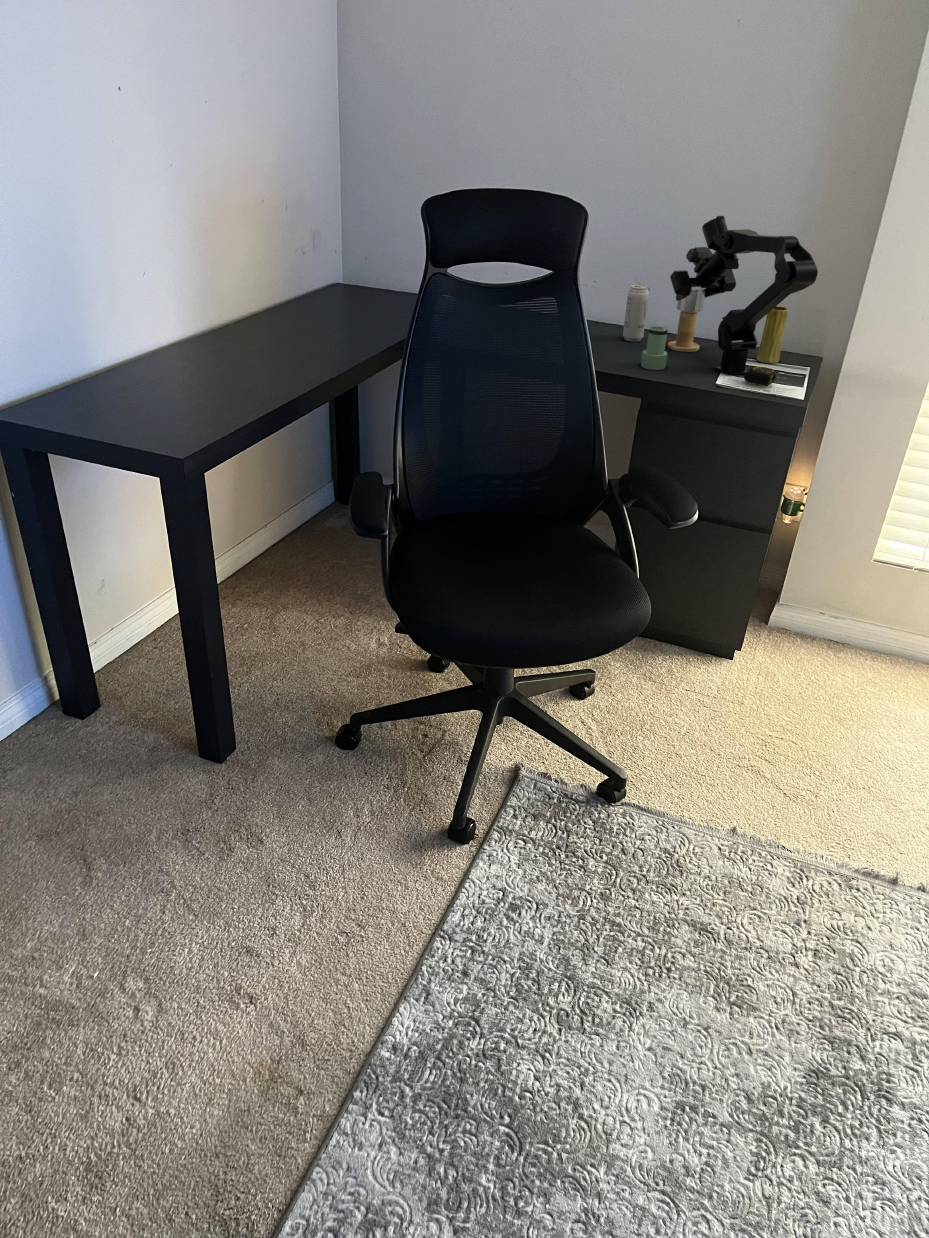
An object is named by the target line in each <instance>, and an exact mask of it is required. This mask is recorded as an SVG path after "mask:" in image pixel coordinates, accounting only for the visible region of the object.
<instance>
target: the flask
mask: <svg viewBox="0 0 929 1238" xmlns="http://www.w3.org/2000/svg"><path fill="white" fill-rule="evenodd" d="M667 335H668V328H666V327H664V326H650V327H649V328H648V333H647V342H646V348H645V349H644V350H642V353H641V360H640V367H641V368H643V369H646V370H650V371H661V370H664V369H666V366H667V359H668V351H665V350H666V342H667Z"/></svg>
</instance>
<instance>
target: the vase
mask: <svg viewBox="0 0 929 1238" xmlns="http://www.w3.org/2000/svg"><path fill="white" fill-rule="evenodd" d="M788 314H789V308H788V307H786V306H782V305H777V306H776V307H775V308H773V309H772V310H771V311H770V312H769V313H768V314H767V315H766V316H765V317H766V319H765V323H764V326H763V329H762V330H763V331H762V335H761V339H760V343H759V347H758V351H757V352H758V353H757V357H756V361H757V362H759V363H763V364H777V363H779V362H780V356H781V352H782V351H781V350H782V345H783V343H782V342H783V336H784V333H785V329H786V323H787V319H788Z"/></svg>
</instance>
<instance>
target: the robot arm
mask: <svg viewBox="0 0 929 1238" xmlns="http://www.w3.org/2000/svg"><path fill="white" fill-rule="evenodd" d="M701 231H702V233H703V236H704V240H705V243H706V246H697V247H694V248H690V249H689V250H688V251H687V252H686V255H685V257H686V259H687V260H688V262H689V263H693V265H694V268H693V272H694V273H695V277H690V274H689V271H688V270H685V269H683V270H681V269H680V270H674V271H673V272H672V273H671V274H670V276H669V278H670V282H671V285H672V288H673V292H674V294H675V295H676V296H675V301H676V302H677V301H679V300H681V299H683V298H685V297H687V296H689V295H690V291H691V288H692V287H701V288H706V293H705V299H706V298H710V297H712V296H717V295H721V294H725V293H726V292H733V291H734V290H735V289H736V287H737V281H736V278H735V274H734V271H733V270H738V269H739V268H740V262H739V258H738V255H740V254H742V255H743V254H750V253H754V252H757V253H758V252H760V253H772V254H774V263H773V267H774V270H775V275H774V281H773V283H771V284H770V285H769V286H768V287H767V288H766V289H765V290H763V291H762V292H761V293H760V294H759V295H758V296H757V297H756V298H755V299H754V300H752V302H750V303H749V304H748V305H747V306H746V307H745V308H740V309H739V308H738V309H731V310H729V311H728V312H727V314H726V315H725V316H722V317H721V319H722V320H721V321H720V323H719V324H718V327H717V345H718V346H717V347H718V348H719V349H720V350H721V351H722V356H721V361H720V366H715V369H716V370H717V371H719V372H721V373H723V374H724V375H725V374H726V375H728V376H737V375H745V373H746V372H747V371H748V370H747V369H746V366H747V365H746V364H747V360H748V356H749V350H756V349H757V345H758V338H757V335H756V333H755V331H756V327H757V323H758V322H760V321H761V320H762V319H763V318H764V317H766V316H767V314H768V313H769V312H770V311H771V310H772V309H773V308H775V307H776V306H779V304H781V302H783V301H784V300H785V299H786V298H787V297H789V296H790V295H793V294H795V293H798V292H801V291H803V290H805V289H807V288H808V287H811V286H812V285H814V284H815V282H816V281H817V277H818V274H819V269H818V266H817V264H816V263H815V260H814V258H813V256H812V254H811V253H810V252H809V251H808V250H807V249H805V248H804V247H803V246H802V245H801V243H800V241H799V239H798V237H796V236H795V235H767V234H759V233H758V232H757V231H755V230H753V229H750V228H749V229H748V228H746V229H743V228H742V229H728V226H727V222H726V218H725V215H716V217H714V218H713V219H710V220H708V221H707V222H705V223H703V225H702V227H701ZM712 250H713V251H714V252H712ZM785 255H789V256H790V257H791V259H793V260H788V261H787V259H786V257H785Z"/></svg>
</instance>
